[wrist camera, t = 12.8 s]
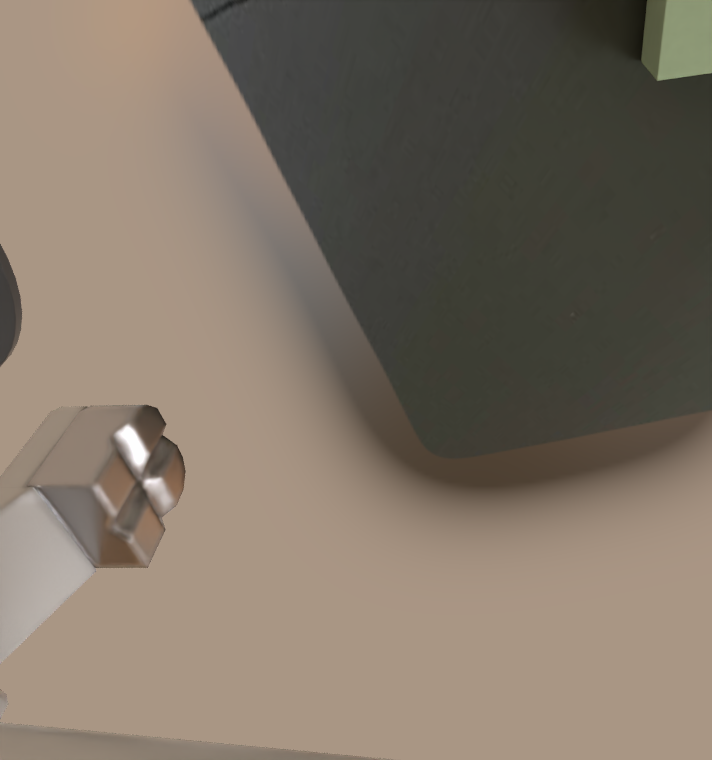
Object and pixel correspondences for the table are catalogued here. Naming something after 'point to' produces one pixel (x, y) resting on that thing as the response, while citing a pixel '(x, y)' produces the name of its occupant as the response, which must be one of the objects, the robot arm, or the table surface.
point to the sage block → (677, 38)
